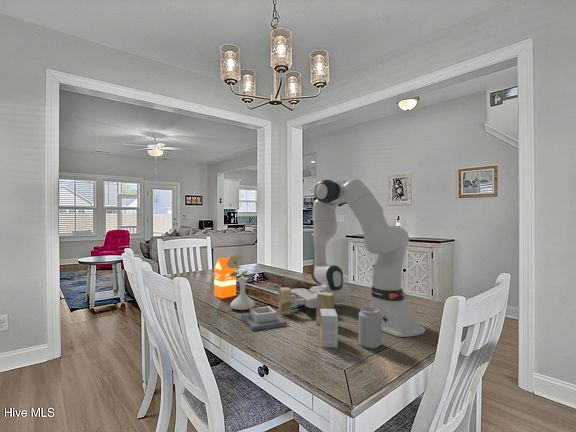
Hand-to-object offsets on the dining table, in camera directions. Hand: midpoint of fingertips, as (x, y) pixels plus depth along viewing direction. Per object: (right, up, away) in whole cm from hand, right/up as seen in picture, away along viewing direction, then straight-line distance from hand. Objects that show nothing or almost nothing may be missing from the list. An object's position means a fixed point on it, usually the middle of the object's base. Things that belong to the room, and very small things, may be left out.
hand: (289, 299), depth 138 cm
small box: (+13, -7, -31) cm, 35 cm away
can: (+27, -7, -33) cm, 43 cm away
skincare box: (+14, -6, -13) cm, 21 cm away
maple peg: (-2, -6, -1) cm, 6 cm away
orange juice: (-34, -6, +28) cm, 44 cm away
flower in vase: (-22, -6, +6) cm, 24 cm away
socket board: (-11, -6, -11) cm, 17 cm away
